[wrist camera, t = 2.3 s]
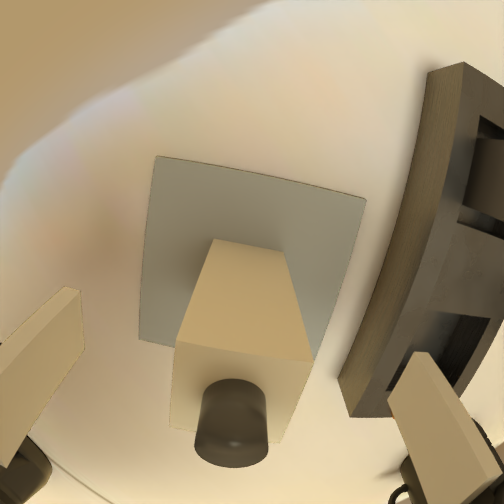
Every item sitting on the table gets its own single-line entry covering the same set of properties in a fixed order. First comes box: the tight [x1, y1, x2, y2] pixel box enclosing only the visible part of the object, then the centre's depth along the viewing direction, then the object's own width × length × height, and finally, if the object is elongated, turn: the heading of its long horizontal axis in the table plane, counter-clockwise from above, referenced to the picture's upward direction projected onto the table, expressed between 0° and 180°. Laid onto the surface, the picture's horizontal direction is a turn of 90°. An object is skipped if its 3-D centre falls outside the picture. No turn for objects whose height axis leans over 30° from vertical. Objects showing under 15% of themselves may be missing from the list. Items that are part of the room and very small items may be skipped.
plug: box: [169, 239, 314, 468], centre depth 13 cm, size 4×4×12 cm
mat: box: [139, 156, 367, 361], centre depth 19 cm, size 12×12×1 cm
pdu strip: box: [338, 62, 504, 419], centre depth 17 cm, size 22×9×5 cm, turn 168°
